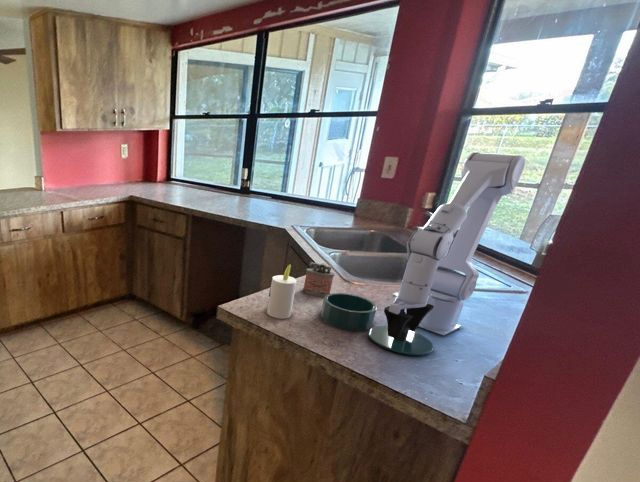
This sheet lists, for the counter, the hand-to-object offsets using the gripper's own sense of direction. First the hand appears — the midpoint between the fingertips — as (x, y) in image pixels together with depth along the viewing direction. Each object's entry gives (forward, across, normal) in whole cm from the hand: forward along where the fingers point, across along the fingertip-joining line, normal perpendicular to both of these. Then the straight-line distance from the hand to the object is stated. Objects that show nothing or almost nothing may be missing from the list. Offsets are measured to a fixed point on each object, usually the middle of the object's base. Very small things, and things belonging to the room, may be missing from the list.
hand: (401, 333), depth 99 cm
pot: (+3, 0, -14) cm, 14 cm away
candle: (+3, +13, -26) cm, 29 cm away
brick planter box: (+3, -9, -30) cm, 31 cm away
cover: (+2, 0, 0) cm, 2 cm away
